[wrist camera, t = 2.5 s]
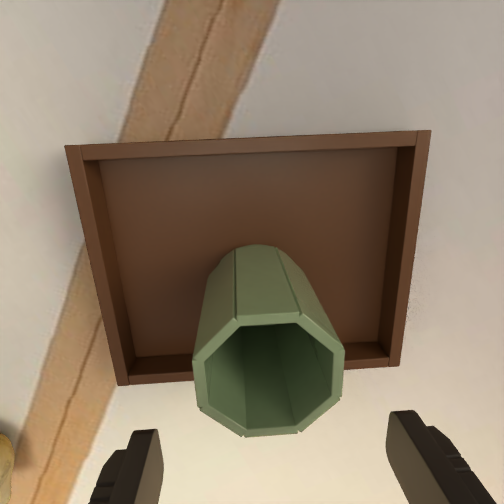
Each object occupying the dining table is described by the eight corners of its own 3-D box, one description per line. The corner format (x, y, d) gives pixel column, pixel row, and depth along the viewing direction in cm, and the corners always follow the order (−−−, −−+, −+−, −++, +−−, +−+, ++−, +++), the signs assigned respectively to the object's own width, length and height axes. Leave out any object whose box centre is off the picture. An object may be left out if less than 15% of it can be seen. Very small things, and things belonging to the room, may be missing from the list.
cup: (302, 241, 21) (348, 309, 13) (301, 325, 23) (340, 431, 15) (205, 246, 21) (186, 319, 13) (213, 330, 23) (201, 441, 15)
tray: (407, 131, 20) (432, 129, 17) (383, 344, 25) (399, 366, 23) (85, 144, 19) (63, 145, 17) (129, 361, 24) (117, 386, 22)
